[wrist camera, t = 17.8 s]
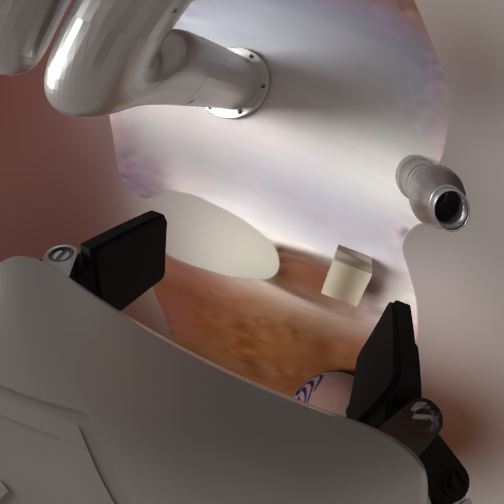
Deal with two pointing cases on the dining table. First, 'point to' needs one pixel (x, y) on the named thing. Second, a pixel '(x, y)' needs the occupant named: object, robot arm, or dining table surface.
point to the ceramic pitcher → (328, 391)
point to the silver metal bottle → (433, 193)
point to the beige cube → (348, 276)
